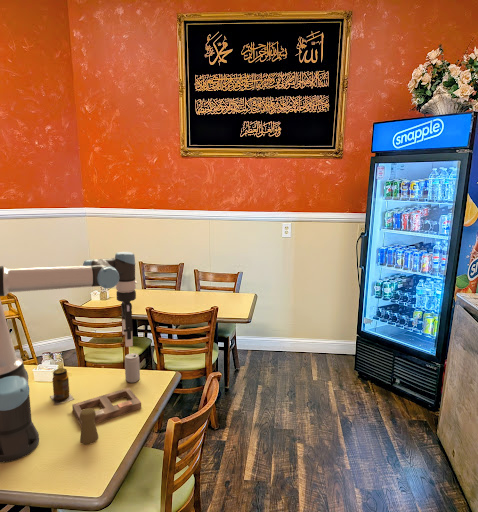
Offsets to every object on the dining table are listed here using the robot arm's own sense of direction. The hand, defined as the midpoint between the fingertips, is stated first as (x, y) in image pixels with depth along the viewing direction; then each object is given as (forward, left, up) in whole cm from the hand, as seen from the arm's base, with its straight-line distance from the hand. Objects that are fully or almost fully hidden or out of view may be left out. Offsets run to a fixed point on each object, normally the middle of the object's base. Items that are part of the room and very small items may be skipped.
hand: (127, 339), depth 160 cm
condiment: (-24, +15, -26) cm, 38 cm away
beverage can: (+6, +13, -26) cm, 29 cm away
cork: (-22, -19, -26) cm, 39 cm away
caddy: (-11, -4, -25) cm, 28 cm away
